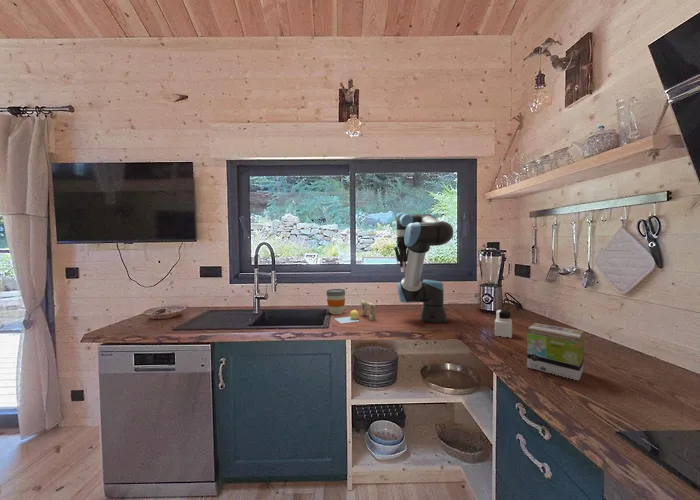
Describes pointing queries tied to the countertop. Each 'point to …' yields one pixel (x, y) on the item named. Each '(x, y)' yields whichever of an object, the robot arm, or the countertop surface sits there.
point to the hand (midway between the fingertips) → (403, 271)
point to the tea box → (555, 350)
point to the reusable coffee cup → (336, 300)
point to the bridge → (371, 309)
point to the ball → (354, 314)
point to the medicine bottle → (503, 324)
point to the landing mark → (346, 320)
